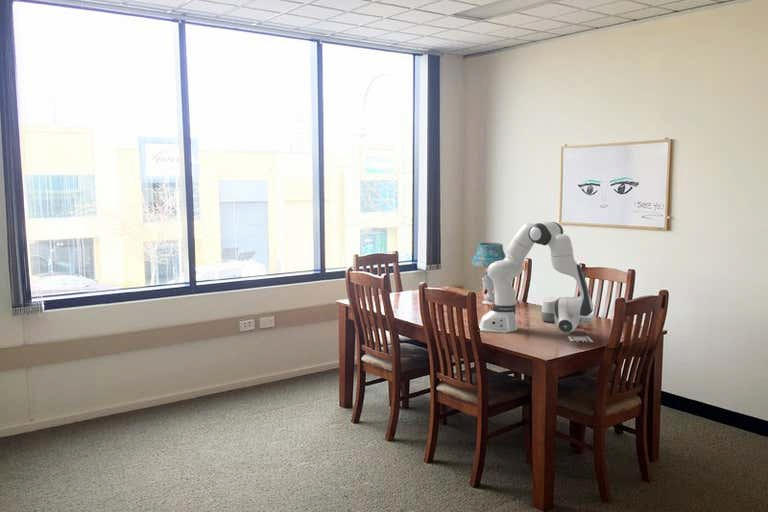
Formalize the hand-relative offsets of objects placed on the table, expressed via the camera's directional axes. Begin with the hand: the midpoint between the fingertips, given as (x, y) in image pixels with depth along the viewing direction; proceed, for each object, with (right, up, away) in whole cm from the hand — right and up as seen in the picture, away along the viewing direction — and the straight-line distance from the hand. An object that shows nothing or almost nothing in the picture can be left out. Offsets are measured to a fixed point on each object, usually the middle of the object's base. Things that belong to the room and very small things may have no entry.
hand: (576, 314), depth 345 cm
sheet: (-2, -12, -13) cm, 18 cm away
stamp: (0, -7, 0) cm, 7 cm away
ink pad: (0, -10, 0) cm, 10 cm away
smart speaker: (-8, -7, +27) cm, 29 cm away
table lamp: (-34, 0, +78) cm, 85 cm away
